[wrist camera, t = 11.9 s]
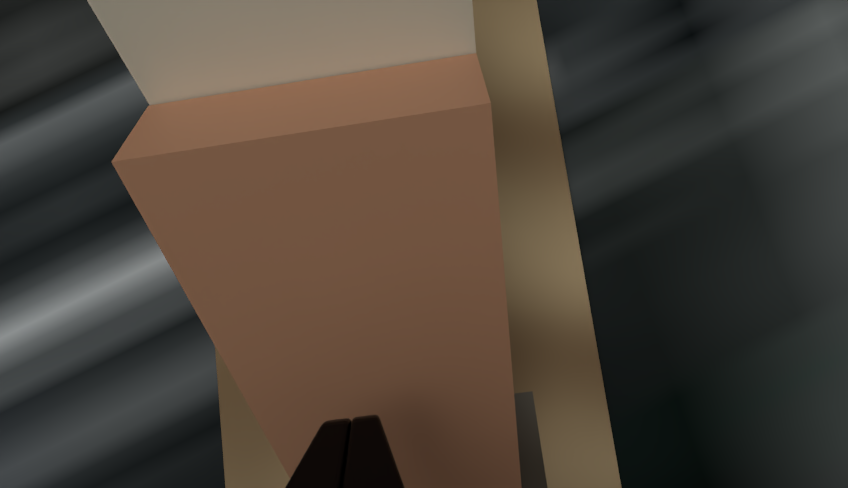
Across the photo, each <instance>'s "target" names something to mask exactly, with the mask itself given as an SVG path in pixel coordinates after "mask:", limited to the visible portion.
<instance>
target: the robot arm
mask: <svg viewBox="0 0 848 488" xmlns="http://www.w3.org/2000/svg"><path fill="white" fill-rule="evenodd" d="M285 488H405V487H404V485H403V482H402V479H401V476H400V473H399V470H398V468H397V465H396V462H395V459H394V456H393V454H392V451H391V448H390V445H389V442H388V439H387V437H386V434H385V431H384V428H383V425H382V423H381V420H380V418H379V416H378V415H366V416H359V417H355V418H353V419H352V421H351V419H349V418H343V419H335V420H328V421H325V422H324V423H323V424H322V425H321V426H320V428H319V430H318V431H317V433H316V435H315V437H314V438H313V440H312V442H311V444H310V445H309V447H308V449H307V451H306V452H305V454H304V456H303V458H302V459H301V461H300V463H299V464H298V466H297V468H296V470H295V471H294V473H293V475H292V477H291V478H290V480H289V482H288V484H287V485H286V487H285Z"/></svg>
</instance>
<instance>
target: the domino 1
mask: <svg viewBox="0 0 848 488" xmlns="http://www.w3.org/2000/svg"><path fill="white" fill-rule="evenodd" d="M87 1H88V3H89V4H90V6H91V8H92V10H93V11H94V13H95V15H96V16H97V18H98V20H99V21H100V23H101V25H102V26H103V28H104V30H105V31H106V33H107V35H108V36H109V38H110V40H111V41H112V43H113V45H114V46H115V48H116V50H117V51H118V53H119V55H120V56H121V58H122V60H123V61H124V63H125V65H126V66H127V68H128V70H129V71H130V73H131V75H132V76H133V78H134V80H135V81H136V83H137V85H138V86H139V88H140V90H141V92H142V93H143V95H144V97H145V98H146V100H147V102H148V103H149V105H156V104H162V103H168V102H174V101H181V100H187V99H193V98H199V97H206V96H212V95H218V94H224V93H230V92H237V91H243V90H249V89H255V88H262V87H268V86H274V85H280V84H287V83H293V82H299V81H305V80H312V79H318V78H324V77H330V76H337V75H343V74H349V73H355V72H362V71H368V70H374V69H380V68H387V67H393V66H399V65H405V64H412V63H418V62H424V61H430V60H436V59H443V58H449V57H455V56H461V55H468V54H474V53H476V44H475V31H474V17H473V4H472V0H87Z"/></svg>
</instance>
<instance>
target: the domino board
mask: <svg viewBox="0 0 848 488" xmlns="http://www.w3.org/2000/svg"><path fill="white" fill-rule="evenodd" d="M472 4H473V17H474V31H475V44H476V54H477V58H478V61H479V64H480V68H481V71H482V74H483V78H484V81H485V85H486V88H487V91H488V95H489V98H490V101H491V110H492V123H493V135H494V148H495V160H496V173H497V185H498V198H499V210H500V223H501V236H502V248H503V261H504V273H505V286H506V298H507V311H508V323H509V336H510V348H511V361H512V373H513V386H514V399H515V411H516V424H517V436H518V449H519V461H520V474H521V486H522V488H621V482H620V476H619V471H618V465H617V459H616V453H615V448H614V442H613V436H612V430H611V425H610V419H609V413H608V408H607V402H606V396H605V390H604V385H603V379H602V373H601V367H600V362H599V356H598V350H597V345H596V339H595V333H594V327H593V322H592V316H591V310H590V304H589V299H588V293H587V287H586V281H585V276H584V270H583V264H582V259H581V253H580V247H579V241H578V236H577V230H576V224H575V218H574V213H573V207H572V201H571V196H570V190H569V184H568V178H567V173H566V167H565V161H564V155H563V150H562V144H561V138H560V133H559V127H558V121H557V115H556V110H555V104H554V98H553V92H552V87H551V81H550V75H549V69H548V64H547V58H546V52H545V47H544V41H543V35H542V29H541V24H540V18H539V12H538V6H537V1H536V0H472ZM215 351H216V365H217V379H218V392H219V406H220V420H221V433H222V447H223V460H224V474H225V488H285V487H286V485H287V484H288V482H289V480H290V478H289V476H288V474H287V473H286V471H285V469H284V467H283V465H282V464H281V462H280V460H279V458H278V457H277V455H276V453H275V451H274V449H273V448H272V446H271V444H270V442H269V441H268V439H267V437H266V435H265V433H264V432H263V430H262V428H261V426H260V425H259V423H258V421H257V419H256V418H255V416H254V414H253V412H252V410H251V409H250V407H249V405H248V403H247V402H246V400H245V398H244V396H243V394H242V393H241V391H240V389H239V387H238V386H237V384H236V382H235V380H234V378H233V377H232V375H231V373H230V371H229V370H228V368H227V366H226V364H225V363H224V361H223V359H222V357H221V355H220V354H219V352H218V350H217V348H216V347H215Z"/></svg>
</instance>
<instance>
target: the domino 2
mask: <svg viewBox="0 0 848 488" xmlns="http://www.w3.org/2000/svg"><path fill="white" fill-rule="evenodd" d="M112 164H113V166H114V167H115V169H116V171H117V173H118V174H119V176H120V178H121V180H122V182H123V183H124V185H125V187H126V189H127V190H128V192H129V194H130V196H131V198H132V199H133V201H134V203H135V205H136V206H137V208H138V210H139V212H140V214H141V215H142V217H143V219H144V221H145V222H146V224H147V226H148V228H149V229H150V231H151V233H152V235H153V237H154V238H155V240H156V242H157V244H158V245H159V247H160V249H161V251H162V253H163V254H164V256H165V258H166V260H167V261H168V263H169V265H170V267H171V268H172V270H173V272H174V274H175V276H176V277H177V279H178V281H179V283H180V284H181V286H182V288H183V290H184V292H185V293H186V295H187V297H188V299H189V300H190V302H191V304H192V306H193V308H194V309H195V311H196V313H197V315H198V316H199V318H200V320H201V322H202V323H203V325H204V327H205V329H206V331H207V332H208V334H209V336H210V338H211V339H212V341H213V343H214V345H215V347H216V348H217V350H218V352H219V354H220V355H221V357H222V359H223V361H224V363H225V364H226V366H227V368H228V370H229V371H230V373H231V375H232V377H233V378H234V380H235V382H236V384H237V386H238V387H239V389H240V391H241V393H242V394H243V396H244V398H245V400H246V402H247V403H248V405H249V407H250V409H251V410H252V412H253V414H254V416H255V418H256V419H257V421H258V423H259V425H260V426H261V428H262V430H263V432H264V433H265V435H266V437H267V439H268V441H269V442H270V444H271V446H272V448H273V449H274V451H275V453H276V455H277V457H278V458H279V460H280V462H281V464H282V465H283V467H284V469H285V471H286V473H287V474H288V476H289V478H291V477H292V475H293V473H294V471H295V470H296V468H297V466H298V464H299V463H300V461H301V459H302V458H303V456H304V454H305V452H306V451H307V449H308V447H309V445H310V444H311V442H312V440H313V438H314V437H315V435H316V433H317V431H318V430H319V428H320V426H321V425H322V424H323V423H324V422H325V421H328V420H335V419H343V418H349V419H351V421H352V419H353V418H355V417H359V416H366V415H378V416H379V418H380V420H381V423H382V425H383V428H384V431H385V434H386V437H387V439H388V442H389V445H390V448H391V451H392V454H393V456H394V459H395V462H396V465H397V468H398V470H399V473H400V476H401V479H402V482H403V485H404V487H405V488H522V486H521V474H520V461H519V449H518V436H517V424H516V411H515V399H514V386H513V373H512V361H511V348H510V336H509V323H508V311H507V298H506V286H505V273H504V261H503V248H502V236H501V223H500V210H499V198H498V185H497V173H496V160H495V148H494V135H493V123H492V110H491V101H490V98H489V95H488V91H487V88H486V85H485V81H484V78H483V74H482V71H481V68H480V64H479V61H478V58H477V54H476V53H474V54H468V55H461V56H455V57H449V58H443V59H436V60H430V61H424V62H418V63H412V64H405V65H399V66H393V67H387V68H380V69H374V70H368V71H362V72H355V73H349V74H343V75H337V76H330V77H324V78H318V79H312V80H305V81H299V82H293V83H287V84H280V85H274V86H268V87H262V88H255V89H249V90H243V91H237V92H230V93H224V94H218V95H212V96H206V97H199V98H193V99H187V100H181V101H174V102H168V103H162V104H156V105H149V106H148V107H147V109H146V110H145V112H144V113H143V115H142V116H141V118H140V119H139V121H138V122H137V124H136V125H135V127H134V128H133V130H132V131H131V133H130V134H129V136H128V138H127V139H126V141H125V142H124V144H123V145H122V147H121V148H120V150H119V151H118V153H117V154H116V156H115V157H114V159H113V160H112Z"/></svg>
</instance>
